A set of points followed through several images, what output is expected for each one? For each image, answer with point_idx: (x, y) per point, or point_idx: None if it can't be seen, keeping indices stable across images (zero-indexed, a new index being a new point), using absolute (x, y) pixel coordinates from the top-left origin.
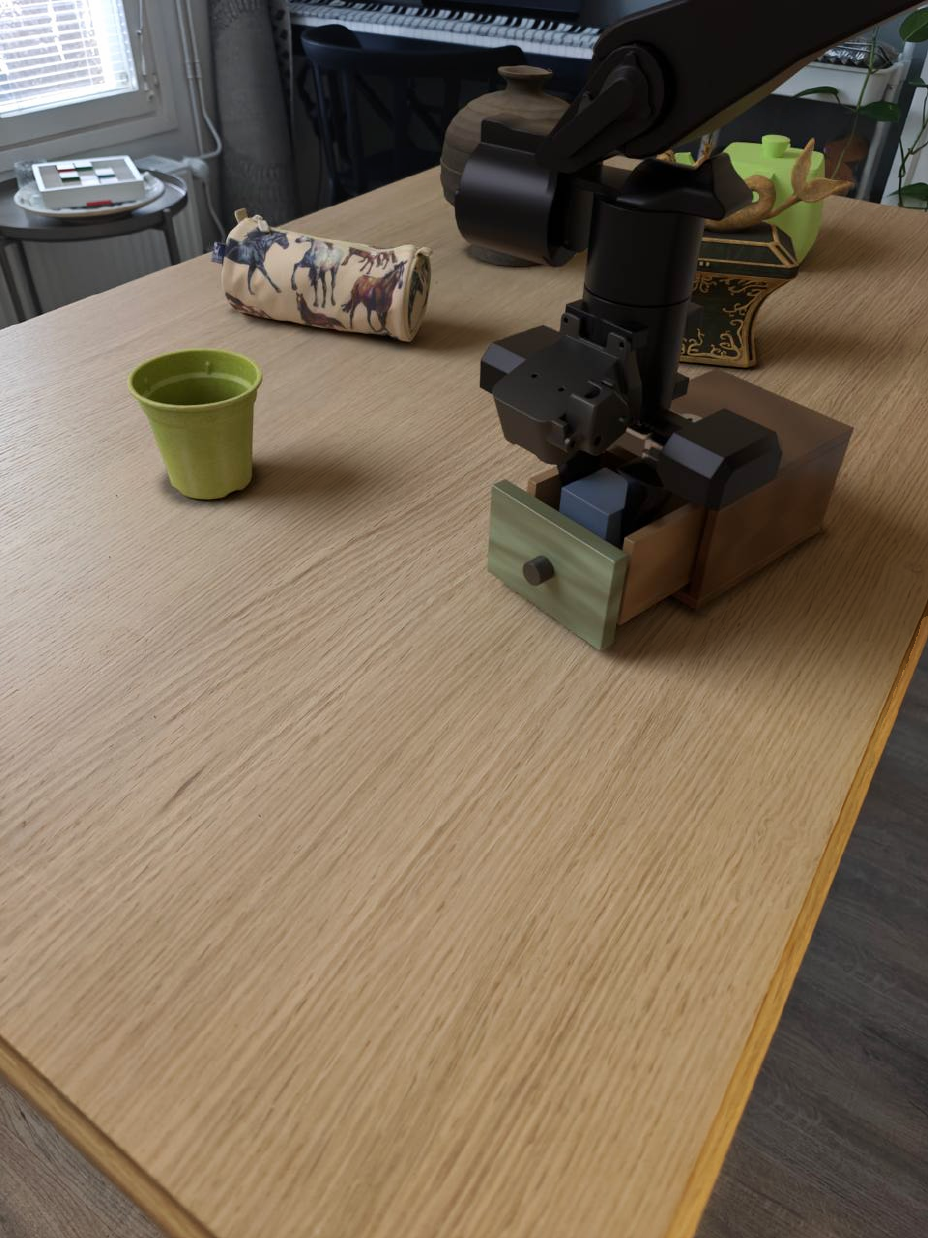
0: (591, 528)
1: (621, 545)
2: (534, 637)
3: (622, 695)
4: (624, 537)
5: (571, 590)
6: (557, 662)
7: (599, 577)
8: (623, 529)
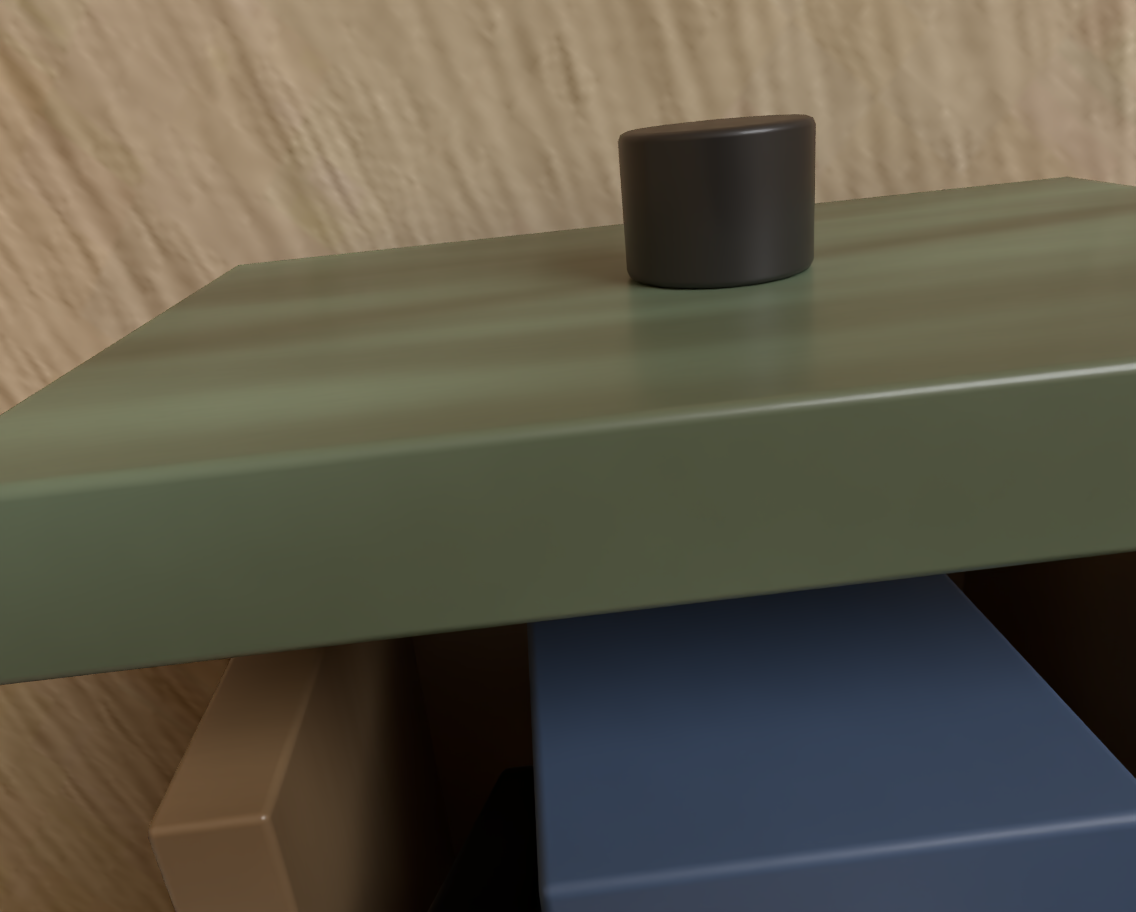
0: (680, 705)
1: (529, 767)
2: (562, 106)
3: (14, 201)
4: (504, 822)
5: (455, 290)
6: (352, 83)
7: (152, 387)
8: (513, 866)
